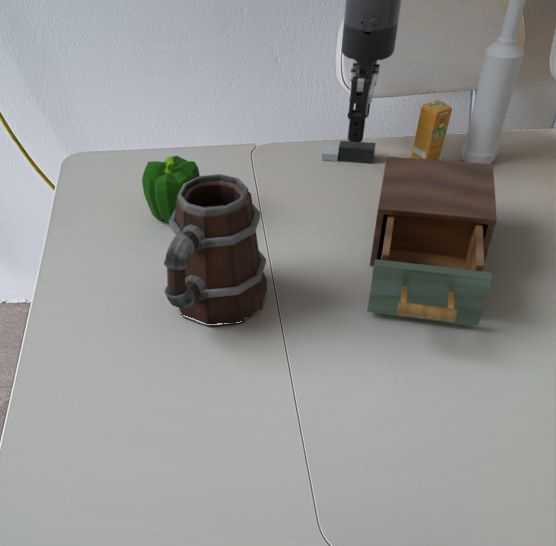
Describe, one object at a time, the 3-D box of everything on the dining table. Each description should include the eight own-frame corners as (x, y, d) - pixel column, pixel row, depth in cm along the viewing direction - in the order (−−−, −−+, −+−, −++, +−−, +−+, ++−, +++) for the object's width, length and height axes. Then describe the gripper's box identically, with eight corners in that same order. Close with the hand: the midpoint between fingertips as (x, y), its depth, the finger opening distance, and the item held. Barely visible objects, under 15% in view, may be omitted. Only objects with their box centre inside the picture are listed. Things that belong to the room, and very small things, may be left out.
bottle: (473, 169, 101) (517, -7, 83) (453, 155, 104) (492, -17, 87) (501, 162, 102) (551, -14, 84) (481, 148, 105) (524, -23, 88)
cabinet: (479, 278, 81) (497, 219, 75) (369, 265, 85) (377, 208, 79) (477, 220, 91) (493, 163, 85) (378, 210, 94) (386, 155, 88)
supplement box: (423, 174, 101) (436, 111, 94) (408, 165, 103) (419, 103, 96) (440, 168, 102) (453, 105, 95) (424, 159, 104) (436, 98, 97)
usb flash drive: (374, 156, 106) (375, 142, 104) (372, 164, 104) (374, 150, 102) (323, 152, 108) (324, 138, 106) (321, 160, 106) (322, 146, 104)
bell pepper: (153, 200, 100) (145, 138, 93) (205, 201, 98) (201, 139, 91) (140, 230, 94) (131, 167, 87) (196, 232, 92) (191, 168, 86)
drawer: (478, 353, 71) (494, 305, 66) (363, 336, 74) (370, 289, 69) (476, 262, 82) (489, 216, 78) (376, 251, 85) (383, 206, 80)
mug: (203, 259, 88) (195, 157, 77) (283, 285, 83) (286, 179, 72) (135, 327, 78) (116, 221, 68) (220, 361, 73) (214, 252, 63)
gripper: (350, 2, 97) (340, 108, 108) (337, 34, 87) (328, 147, 98) (402, 3, 95) (386, 111, 106) (394, 37, 85) (378, 151, 96)
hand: (358, 128), depth 102 cm, fingers open, 8 cm apart
